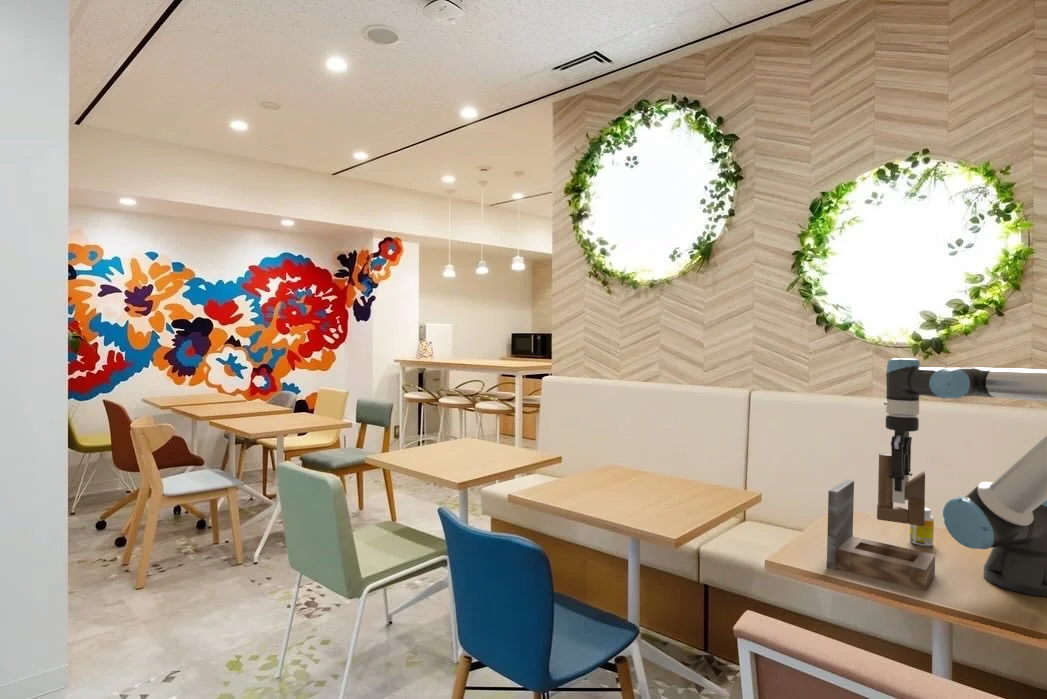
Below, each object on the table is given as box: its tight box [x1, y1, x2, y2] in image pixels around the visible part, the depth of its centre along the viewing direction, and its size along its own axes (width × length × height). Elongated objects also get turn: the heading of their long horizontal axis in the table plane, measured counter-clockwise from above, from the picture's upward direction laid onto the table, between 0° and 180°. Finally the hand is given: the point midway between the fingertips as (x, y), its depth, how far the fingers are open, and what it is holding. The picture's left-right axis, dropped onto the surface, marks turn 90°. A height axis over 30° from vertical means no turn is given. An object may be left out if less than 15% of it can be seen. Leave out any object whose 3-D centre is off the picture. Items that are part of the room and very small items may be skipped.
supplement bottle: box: [909, 506, 935, 547], centre depth 168 cm, size 6×6×10 cm
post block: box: [826, 479, 936, 592], centre depth 149 cm, size 21×16×20 cm
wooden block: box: [876, 453, 926, 526], centre depth 159 cm, size 4×11×18 cm, turn 59°
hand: (900, 500), depth 159 cm, fingers closed on wooden block, 4 cm apart
